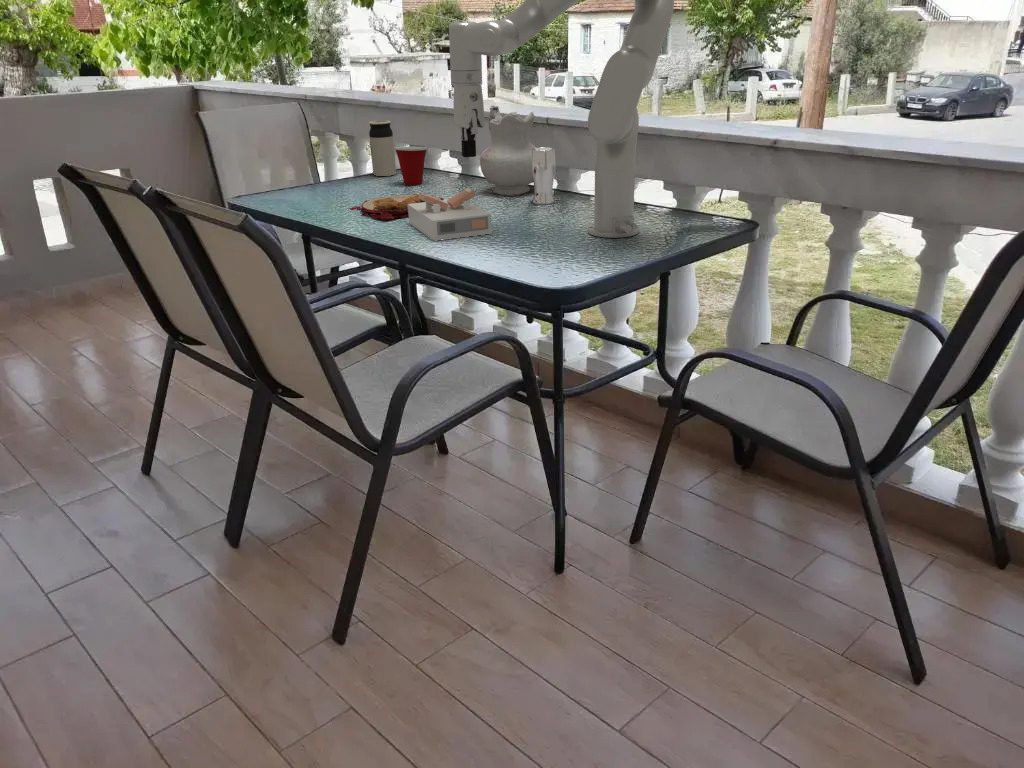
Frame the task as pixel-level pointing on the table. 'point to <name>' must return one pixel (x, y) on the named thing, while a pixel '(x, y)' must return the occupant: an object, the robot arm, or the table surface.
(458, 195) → the rocker
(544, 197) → the white cylinder
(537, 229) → the table surface
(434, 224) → the switch box
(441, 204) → the rocker
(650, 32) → the robot arm
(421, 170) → the plastic cup
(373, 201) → the plate with food
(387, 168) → the travel mug
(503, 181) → the ceramic pitcher
